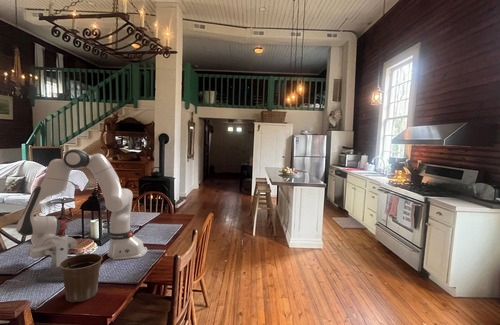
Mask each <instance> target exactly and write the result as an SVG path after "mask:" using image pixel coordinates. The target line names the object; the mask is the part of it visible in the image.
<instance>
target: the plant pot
mask: <svg viewBox="0 0 500 325" xmlns="http://www.w3.org/2000/svg"><path fill="white" fill-rule="evenodd" d="M102 261H103V256H102V255H101V254H97V253H90V252H89V253H81V254H76V255H73V256H69V257H68V258H67V259H65V260H63V261H62V262H61V263H60V268H61V271H62V275H63V279H64V281H63V287H64V294H65V300H66V302H69V303H75V302H79V303H81V302H85V301H88V300H90V299H92V298H93V297H95V296H96V295H97V293H98V290H99V289H98V286H99V280H100V279H99V278H100V268H101V267H102V266H101V264H102Z"/></svg>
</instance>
